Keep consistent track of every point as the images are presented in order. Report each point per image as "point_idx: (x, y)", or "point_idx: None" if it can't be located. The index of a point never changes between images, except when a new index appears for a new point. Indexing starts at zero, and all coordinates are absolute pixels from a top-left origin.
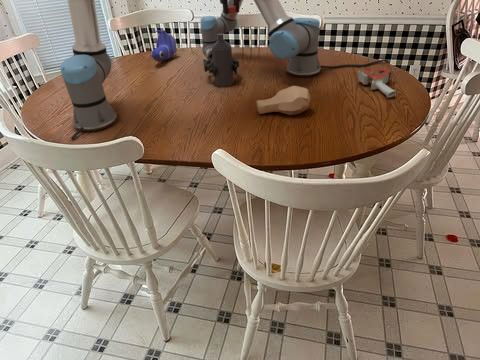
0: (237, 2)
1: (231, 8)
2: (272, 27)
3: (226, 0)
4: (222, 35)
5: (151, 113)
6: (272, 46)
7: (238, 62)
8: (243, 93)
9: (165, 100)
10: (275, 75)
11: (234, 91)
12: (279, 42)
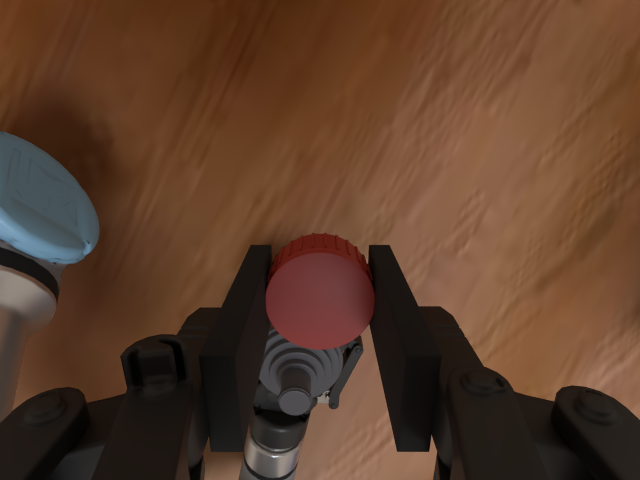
0: (250, 285)
1: (339, 251)
2: (10, 285)
3: (403, 303)
4: (290, 388)
5: (608, 189)
6: (82, 228)
7: None
8: (286, 170)
9: (525, 259)
10: (117, 252)
11: (305, 203)
12: (36, 198)
